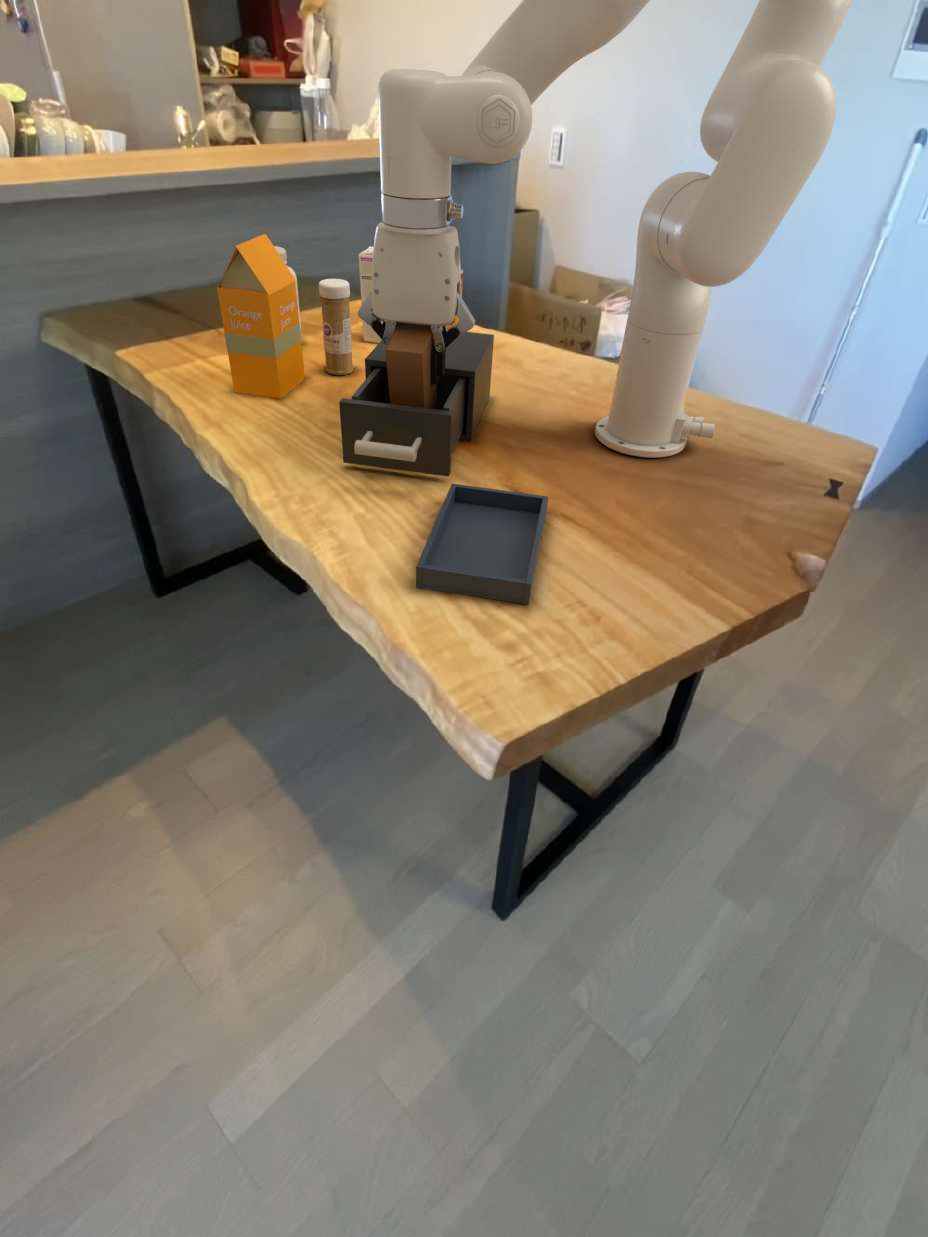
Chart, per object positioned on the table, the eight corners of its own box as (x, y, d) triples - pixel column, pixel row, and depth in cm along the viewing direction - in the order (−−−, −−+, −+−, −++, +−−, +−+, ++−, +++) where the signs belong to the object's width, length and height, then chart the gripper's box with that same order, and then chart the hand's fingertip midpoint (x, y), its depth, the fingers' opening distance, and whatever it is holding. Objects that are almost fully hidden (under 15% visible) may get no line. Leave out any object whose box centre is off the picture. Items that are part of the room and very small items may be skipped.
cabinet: (471, 442, 94) (475, 371, 88) (367, 428, 95) (364, 358, 89) (489, 399, 106) (494, 334, 99) (397, 388, 107) (396, 323, 101)
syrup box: (393, 345, 123) (392, 254, 113) (362, 341, 123) (357, 251, 114) (402, 335, 127) (401, 247, 118) (371, 331, 128) (368, 244, 119)
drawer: (440, 495, 80) (442, 432, 75) (330, 480, 82) (324, 417, 77) (470, 428, 95) (473, 371, 90) (376, 416, 96) (374, 360, 91)
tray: (545, 515, 80) (548, 496, 78) (528, 604, 66) (531, 584, 65) (450, 502, 81) (451, 483, 79) (415, 587, 68) (415, 566, 66)
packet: (437, 409, 93) (435, 323, 84) (426, 440, 88) (422, 353, 79) (406, 405, 93) (400, 320, 84) (392, 436, 89) (385, 349, 80)
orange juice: (233, 392, 103) (208, 242, 90) (260, 372, 110) (240, 230, 97) (282, 399, 102) (263, 248, 89) (306, 378, 108) (292, 236, 96)
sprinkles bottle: (320, 372, 111) (312, 282, 102) (335, 364, 114) (329, 275, 105) (344, 378, 109) (338, 287, 101) (359, 369, 113) (355, 280, 104)
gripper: (496, 213, 78) (486, 375, 89) (352, 201, 79) (360, 361, 91) (486, 225, 72) (476, 396, 83) (330, 212, 74) (342, 381, 85)
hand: (416, 376), depth 87 cm, fingers closed on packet, 4 cm apart
